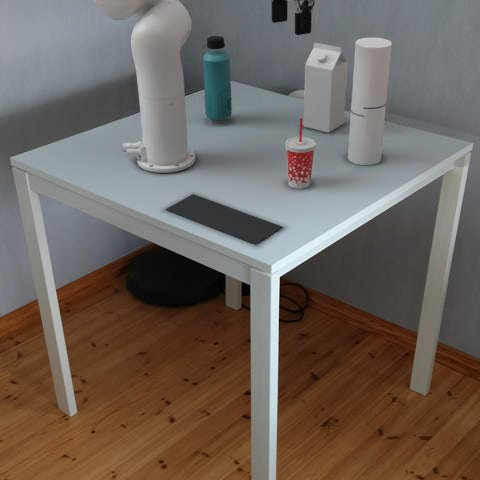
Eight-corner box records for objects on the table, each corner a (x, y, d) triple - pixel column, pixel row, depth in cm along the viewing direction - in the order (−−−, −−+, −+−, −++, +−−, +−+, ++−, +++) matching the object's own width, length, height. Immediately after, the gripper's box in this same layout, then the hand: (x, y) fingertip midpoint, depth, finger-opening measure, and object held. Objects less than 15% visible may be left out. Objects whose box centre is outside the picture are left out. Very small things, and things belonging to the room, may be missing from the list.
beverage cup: (317, 189, 160) (320, 123, 153) (287, 191, 160) (289, 125, 152) (310, 176, 165) (312, 111, 158) (281, 178, 165) (282, 114, 157)
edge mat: (165, 210, 154) (165, 208, 154) (193, 195, 159) (193, 193, 159) (255, 245, 142) (255, 243, 142) (282, 227, 147) (282, 226, 147)
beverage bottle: (232, 125, 189) (230, 41, 178) (204, 126, 189) (200, 41, 178) (232, 115, 194) (230, 33, 183) (205, 115, 195) (202, 33, 184)
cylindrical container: (379, 166, 169) (390, 48, 155) (346, 163, 170) (354, 47, 156) (381, 152, 175) (392, 38, 161) (349, 150, 176) (357, 36, 162)
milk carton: (318, 117, 193) (322, 38, 182) (344, 123, 189) (349, 43, 179) (303, 127, 188) (305, 46, 177) (329, 133, 184) (333, 51, 174)
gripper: (252, -74, 148) (254, 19, 157) (295, -60, 135) (294, 42, 144) (288, -78, 150) (287, 14, 160) (333, -65, 137) (330, 36, 146)
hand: (290, 27), depth 152 cm, fingers open, 9 cm apart
